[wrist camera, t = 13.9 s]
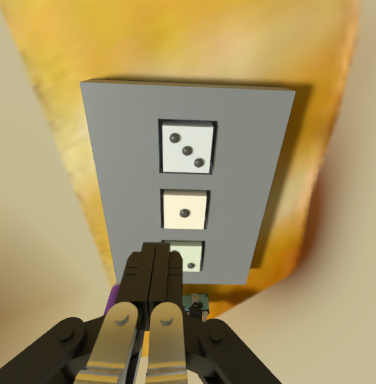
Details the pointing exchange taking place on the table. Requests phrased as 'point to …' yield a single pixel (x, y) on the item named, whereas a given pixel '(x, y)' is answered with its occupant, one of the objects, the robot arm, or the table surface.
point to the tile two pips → (188, 253)
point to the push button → (196, 305)
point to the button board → (211, 182)
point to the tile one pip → (184, 208)
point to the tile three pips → (187, 146)
